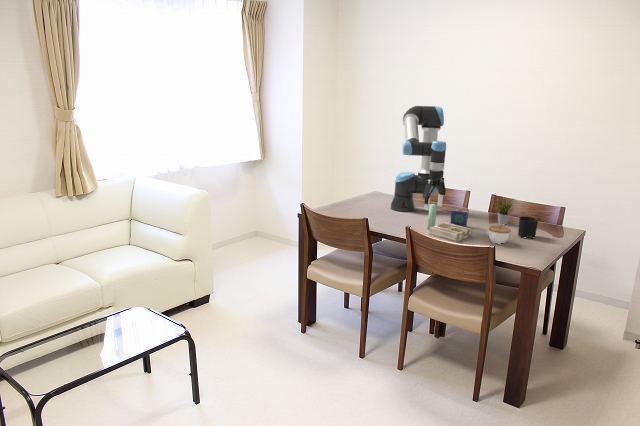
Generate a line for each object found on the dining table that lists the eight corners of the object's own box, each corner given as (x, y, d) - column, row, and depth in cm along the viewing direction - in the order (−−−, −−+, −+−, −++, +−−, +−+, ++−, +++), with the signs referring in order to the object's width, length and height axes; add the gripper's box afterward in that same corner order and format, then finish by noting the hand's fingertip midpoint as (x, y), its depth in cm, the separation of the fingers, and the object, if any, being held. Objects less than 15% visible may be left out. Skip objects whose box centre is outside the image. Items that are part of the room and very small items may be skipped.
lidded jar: (483, 239, 272) (486, 222, 269) (503, 239, 273) (505, 222, 270) (492, 245, 262) (494, 228, 259) (512, 245, 263) (514, 228, 260)
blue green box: (466, 226, 294) (468, 208, 291) (466, 227, 291) (468, 209, 289) (450, 224, 297) (452, 206, 294) (450, 225, 294) (451, 207, 291)
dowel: (429, 227, 289) (432, 203, 285) (436, 229, 286) (438, 205, 282) (426, 228, 286) (428, 204, 282) (432, 230, 283) (434, 206, 280)
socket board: (444, 229, 287) (445, 222, 286) (470, 235, 276) (471, 228, 275) (429, 234, 276) (429, 227, 275) (455, 242, 265) (456, 234, 264)
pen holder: (514, 236, 278) (516, 218, 276) (521, 232, 285) (523, 215, 282) (531, 240, 272) (534, 222, 270) (538, 236, 279) (541, 219, 276)
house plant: (518, 222, 305) (522, 195, 301) (516, 228, 293) (520, 200, 288) (493, 219, 311) (497, 192, 306) (490, 224, 299) (494, 197, 294)
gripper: (430, 173, 266) (426, 212, 271) (454, 168, 283) (450, 205, 289) (418, 171, 271) (414, 210, 276) (442, 166, 288) (439, 203, 294)
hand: (433, 207), depth 282 cm, fingers open, 13 cm apart
